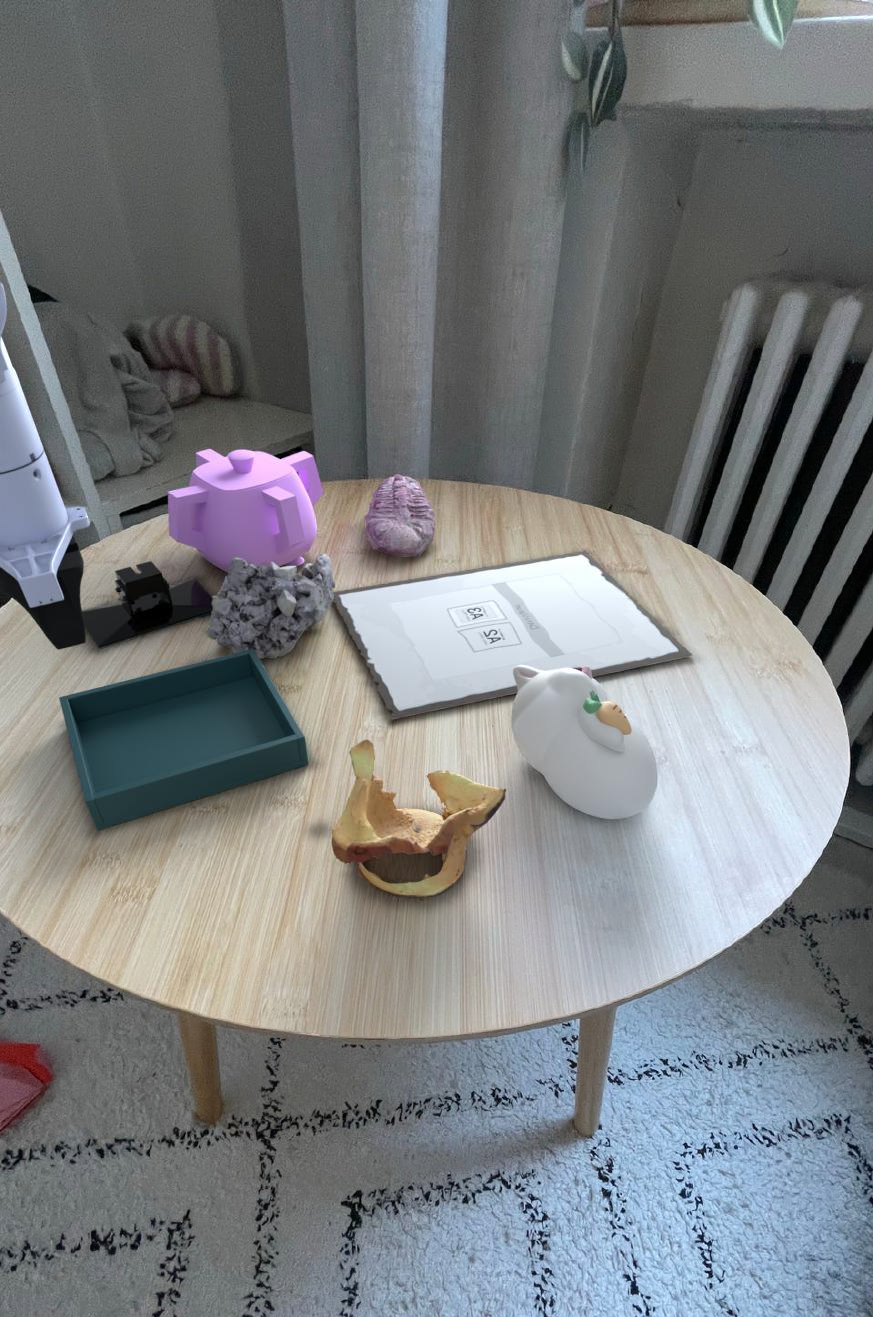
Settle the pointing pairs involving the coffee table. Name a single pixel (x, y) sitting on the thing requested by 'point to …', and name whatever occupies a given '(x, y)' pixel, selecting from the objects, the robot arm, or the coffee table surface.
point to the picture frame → (497, 630)
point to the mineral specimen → (270, 605)
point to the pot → (248, 508)
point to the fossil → (400, 518)
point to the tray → (179, 736)
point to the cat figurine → (582, 742)
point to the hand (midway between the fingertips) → (70, 641)
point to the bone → (411, 824)
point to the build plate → (145, 606)
